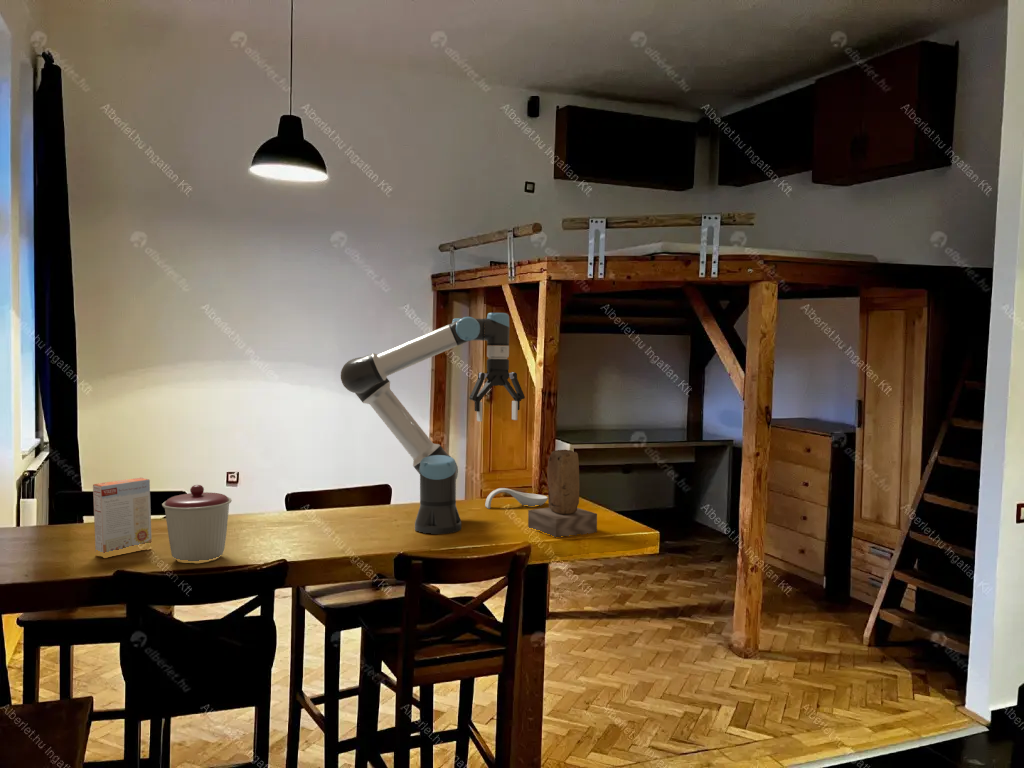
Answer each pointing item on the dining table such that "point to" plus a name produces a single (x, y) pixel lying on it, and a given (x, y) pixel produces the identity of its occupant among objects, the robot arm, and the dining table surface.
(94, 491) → the cracker box
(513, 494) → the spoon rest
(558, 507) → the block
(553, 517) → the base block
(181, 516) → the canister
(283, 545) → the dining table surface
